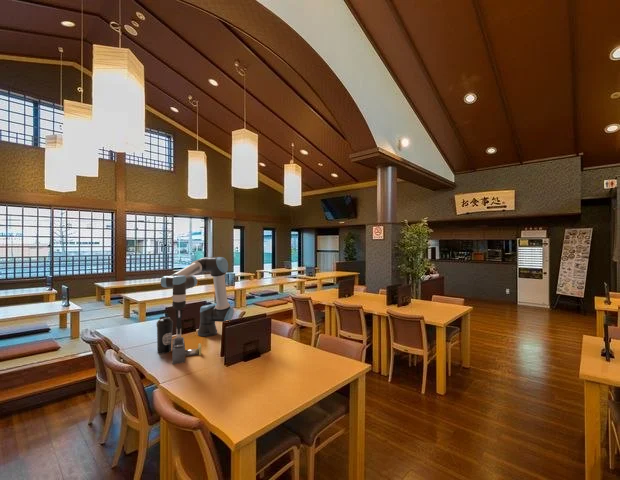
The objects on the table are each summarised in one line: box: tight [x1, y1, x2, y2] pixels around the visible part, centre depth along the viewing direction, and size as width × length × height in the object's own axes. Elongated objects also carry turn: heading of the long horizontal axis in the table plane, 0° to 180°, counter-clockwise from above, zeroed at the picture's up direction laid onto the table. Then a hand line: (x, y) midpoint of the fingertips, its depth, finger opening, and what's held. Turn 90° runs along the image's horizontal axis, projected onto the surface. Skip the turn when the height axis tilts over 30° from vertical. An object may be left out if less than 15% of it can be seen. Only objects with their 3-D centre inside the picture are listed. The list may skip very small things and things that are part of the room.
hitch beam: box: [171, 337, 186, 365], centre depth 196 cm, size 22×7×11 cm, turn 25°
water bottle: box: [156, 315, 174, 354], centre depth 207 cm, size 10×10×23 cm
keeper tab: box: [174, 336, 184, 346], centre depth 189 cm, size 1×5×8 cm
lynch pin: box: [185, 342, 203, 357], centre depth 201 cm, size 10×7×6 cm, turn 115°
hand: (178, 338), depth 189 cm, fingers closed
